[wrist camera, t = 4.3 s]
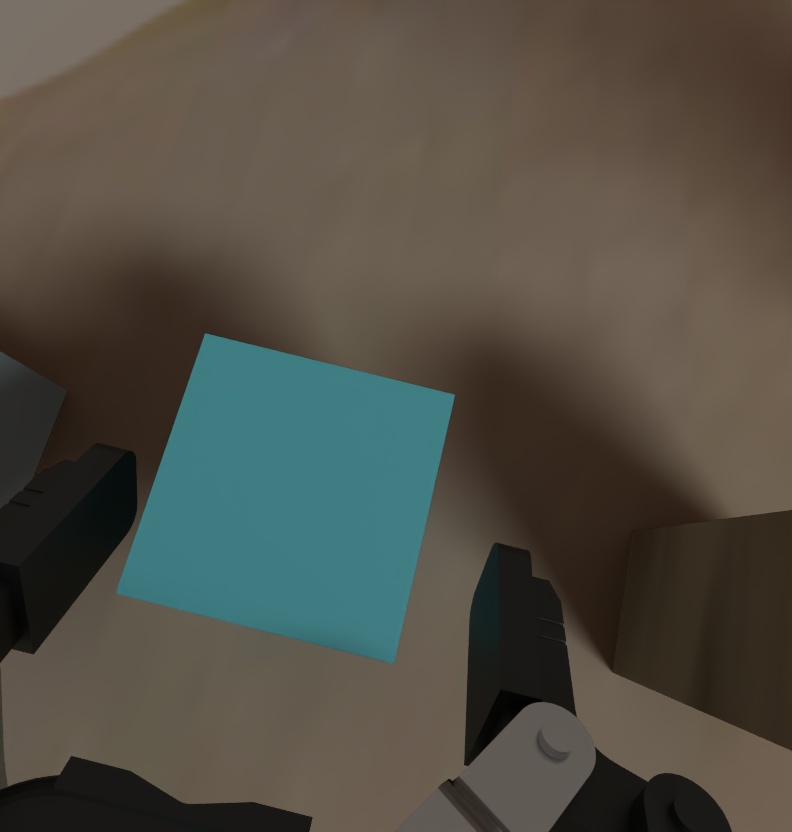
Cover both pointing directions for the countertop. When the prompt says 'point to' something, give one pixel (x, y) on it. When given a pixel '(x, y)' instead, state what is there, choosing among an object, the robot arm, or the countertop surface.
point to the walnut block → (714, 619)
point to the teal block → (291, 498)
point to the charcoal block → (24, 423)
